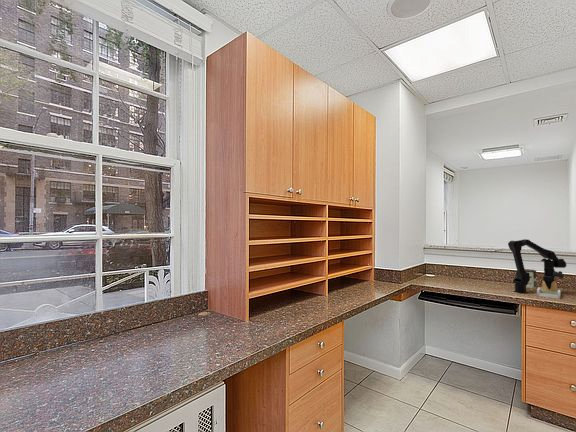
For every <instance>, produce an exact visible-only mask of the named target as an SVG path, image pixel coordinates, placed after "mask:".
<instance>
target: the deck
mask: <svg viewBox="0 0 576 432" xmlns="http://www.w3.org/2000/svg"><path fill="white" fill-rule="evenodd" d="M561 294H562V289H561V288H557V291H551V290H542V286H538V287H537V289H536V296H537V297H544V298H551V299H552V298H553V299H559V300H561V296H562V295H561Z"/></svg>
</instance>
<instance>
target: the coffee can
mask: <svg viewBox="0 0 576 432" xmlns="http://www.w3.org/2000/svg"><path fill="white" fill-rule="evenodd" d="M524 269H525V271H526V272H528V273H529V275H530V281H529V282H528V285H526V289H528V288H529V289H536V288H537V289H538V287H537V269H527V268H524Z"/></svg>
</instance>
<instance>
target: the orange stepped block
mask: <svg viewBox="0 0 576 432" xmlns="http://www.w3.org/2000/svg"><path fill="white" fill-rule="evenodd" d="M541 284H542V286H541V287H542V290H551V291H557V289H558V288H557V287H558V286H557V285H558V284H557V282H556V281H553V282H552V283H551V288H550V289H548V287H547V285H546V283H545V281H544V280H543V281H542V283H541Z"/></svg>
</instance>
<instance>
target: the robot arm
mask: <svg viewBox="0 0 576 432" xmlns="http://www.w3.org/2000/svg"><path fill="white" fill-rule="evenodd" d="M507 245H508V248H509V250H510V251H511V252H512V255H513V260H514V263H515V267H516V274H515V277H514V278H513V280H512V282H513V284H514V290H513V292H514V293H519V294H528V292H527V288H526V285H528V282H529V281H530V275H529V273H528V272H526V271H525V269H526V268H525V266H524V261H523V257H522V256H523V255H522V253H521V251H522V250H523V249H522V247H525V246H526V247H528V248H530V249H532V250H534V251H535V252H537V253H538V254H539V255H540V256H541V257H542V259H540V262H543V276H542V280H543V281H545V283H546V285H547V287H548V289H550V288H551V283H552V282H555V278H559V279H563V278H564V277H565V273H563V272H562V271H561V270H559V271H556V270H555V269H565V268H566V267H567V262H566V261H565V259H564V258H558V256H557V255H556V253H555V252H554V251H552V250H549V249H546V248H543V247H542V246H540V245H538V244H537V243H535V242H533V241H531V240H530V239H524V238H523V239H519V240H509V242H508V243H507Z"/></svg>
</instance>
